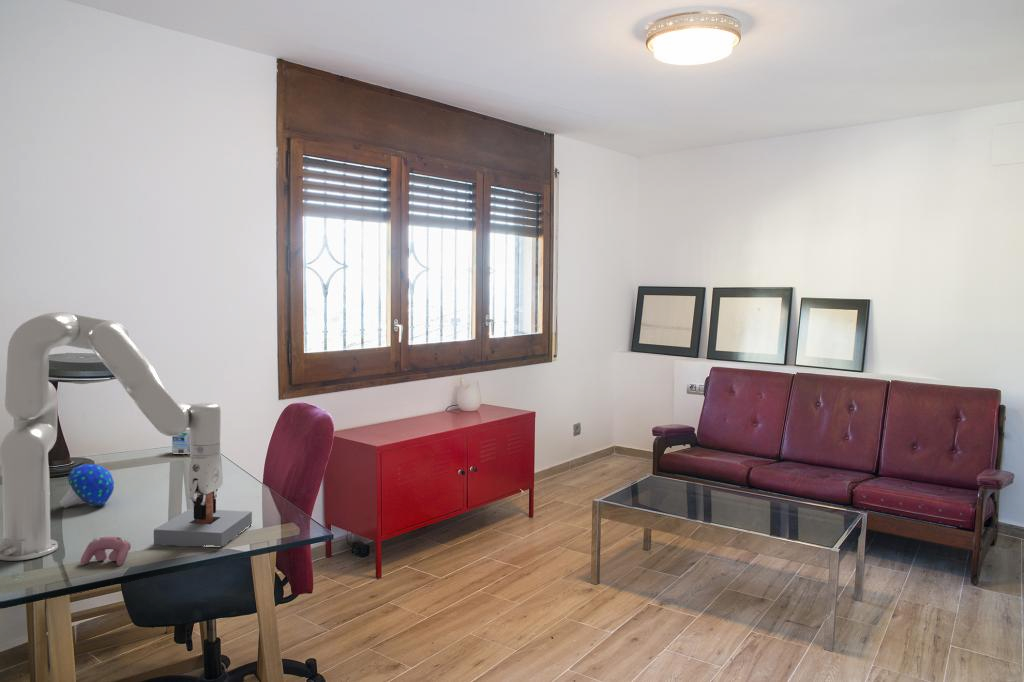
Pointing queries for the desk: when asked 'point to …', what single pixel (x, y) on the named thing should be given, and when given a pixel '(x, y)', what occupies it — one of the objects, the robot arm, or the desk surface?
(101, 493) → the mushroom
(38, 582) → the desk surface
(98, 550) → the video game controller
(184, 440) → the light bulb box
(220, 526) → the socket plate
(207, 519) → the dowel
